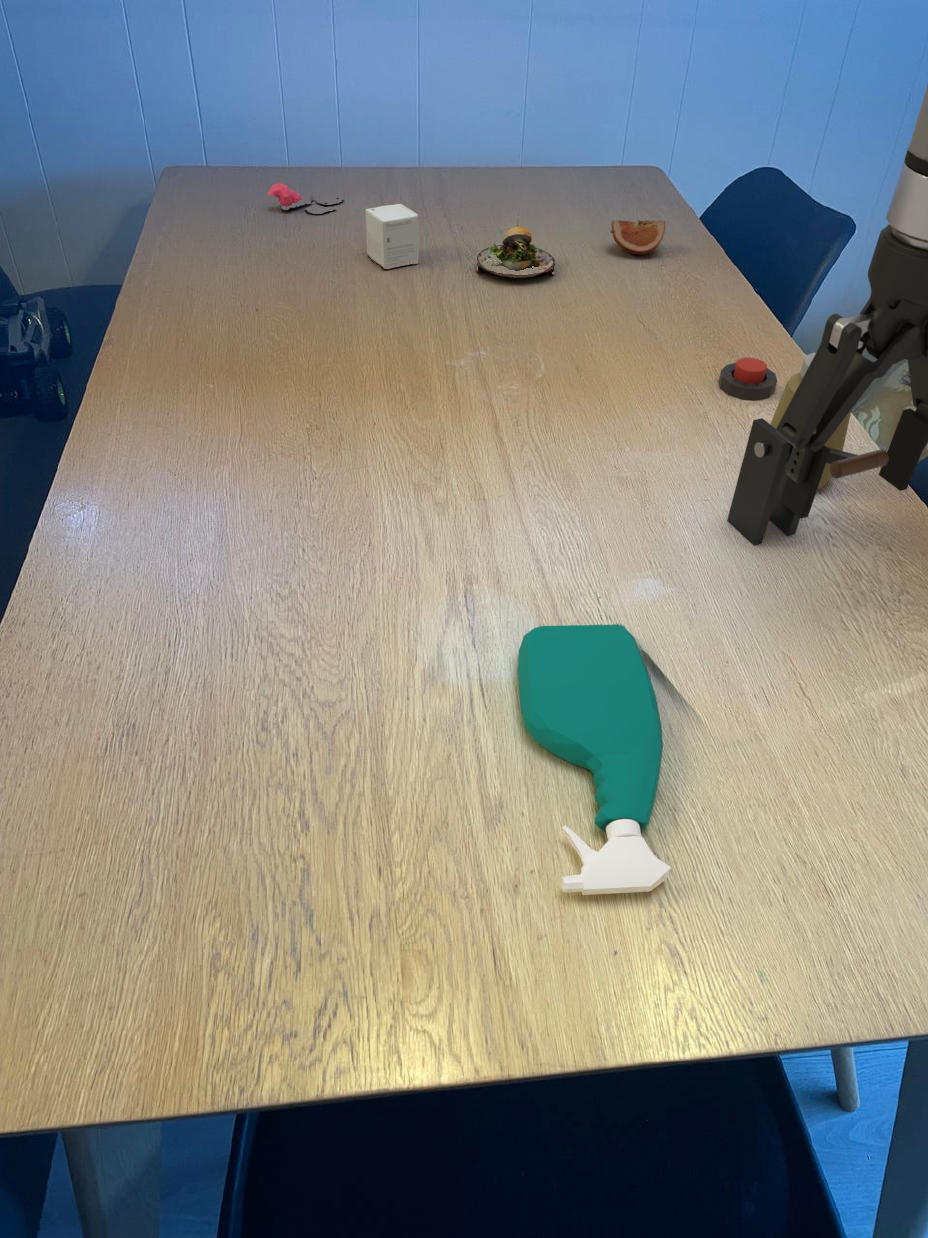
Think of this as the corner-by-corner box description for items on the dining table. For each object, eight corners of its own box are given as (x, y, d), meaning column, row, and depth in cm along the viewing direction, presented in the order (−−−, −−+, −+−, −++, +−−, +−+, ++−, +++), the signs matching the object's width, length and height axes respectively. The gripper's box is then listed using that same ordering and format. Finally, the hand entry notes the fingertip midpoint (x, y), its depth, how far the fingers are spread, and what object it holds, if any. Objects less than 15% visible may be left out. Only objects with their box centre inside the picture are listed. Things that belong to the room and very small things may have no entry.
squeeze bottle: (816, 465, 103) (866, 308, 91) (839, 508, 97) (897, 346, 85) (743, 465, 103) (785, 308, 91) (763, 508, 97) (810, 346, 85)
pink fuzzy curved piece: (312, 222, 154) (310, 194, 151) (260, 208, 158) (256, 181, 155) (355, 201, 162) (353, 174, 159) (303, 189, 166) (301, 162, 163)
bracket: (815, 556, 91) (854, 443, 82) (756, 573, 89) (791, 459, 80) (758, 506, 97) (790, 396, 88) (702, 521, 95) (729, 409, 86)
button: (769, 381, 112) (773, 368, 110) (745, 387, 110) (748, 373, 109) (751, 368, 114) (754, 355, 113) (727, 373, 113) (730, 360, 112)
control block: (800, 417, 111) (807, 394, 109) (752, 428, 109) (758, 405, 107) (750, 380, 117) (756, 358, 115) (704, 390, 115) (709, 368, 113)
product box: (383, 271, 140) (382, 221, 135) (366, 257, 144) (364, 208, 139) (420, 264, 142) (419, 214, 137) (401, 250, 146) (400, 201, 141)
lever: (887, 473, 79) (890, 445, 78) (841, 485, 77) (842, 457, 76) (796, 447, 88) (797, 422, 87) (753, 458, 86) (753, 433, 85)
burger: (463, 277, 139) (464, 226, 134) (492, 250, 147) (494, 200, 142) (539, 292, 136) (544, 240, 131) (565, 263, 144) (569, 213, 139)
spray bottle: (635, 645, 81) (700, 900, 63) (511, 647, 81) (540, 905, 63) (641, 620, 79) (709, 877, 61) (513, 622, 79) (544, 881, 61)
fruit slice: (609, 258, 145) (613, 226, 142) (605, 242, 150) (609, 210, 147) (663, 260, 145) (668, 228, 142) (657, 244, 150) (662, 212, 147)
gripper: (1013, 197, 71) (913, 447, 86) (774, 235, 64) (709, 500, 79) (1097, 230, 66) (975, 490, 81) (848, 276, 59) (764, 551, 74)
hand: (844, 495), depth 80 cm, fingers open, 10 cm apart
